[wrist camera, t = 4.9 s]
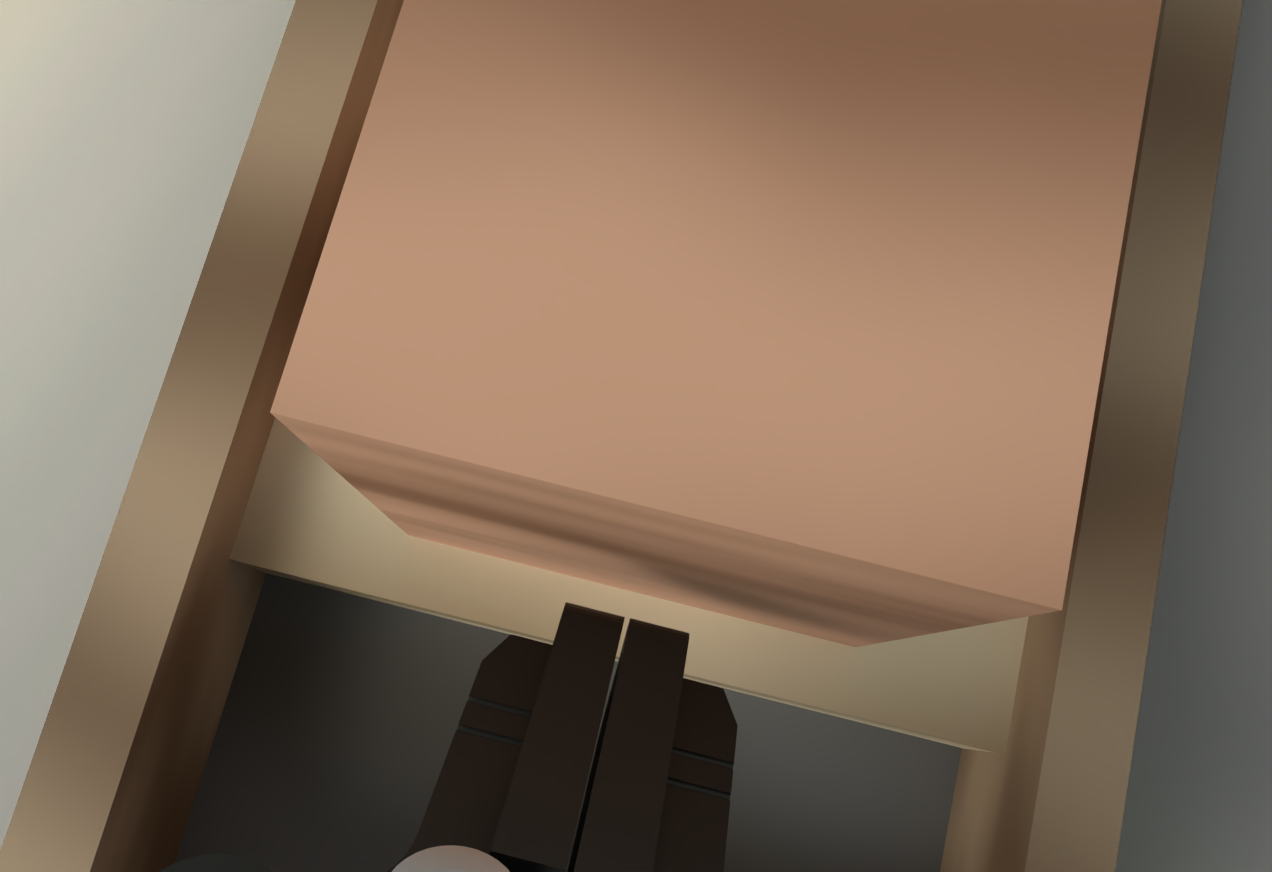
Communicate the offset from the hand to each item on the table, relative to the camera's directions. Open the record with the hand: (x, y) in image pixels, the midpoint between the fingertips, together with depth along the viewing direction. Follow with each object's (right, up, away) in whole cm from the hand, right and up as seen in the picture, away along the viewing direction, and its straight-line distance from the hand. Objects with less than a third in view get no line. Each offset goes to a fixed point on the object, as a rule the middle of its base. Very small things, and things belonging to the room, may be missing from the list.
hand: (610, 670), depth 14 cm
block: (+1, +5, +5) cm, 7 cm away
